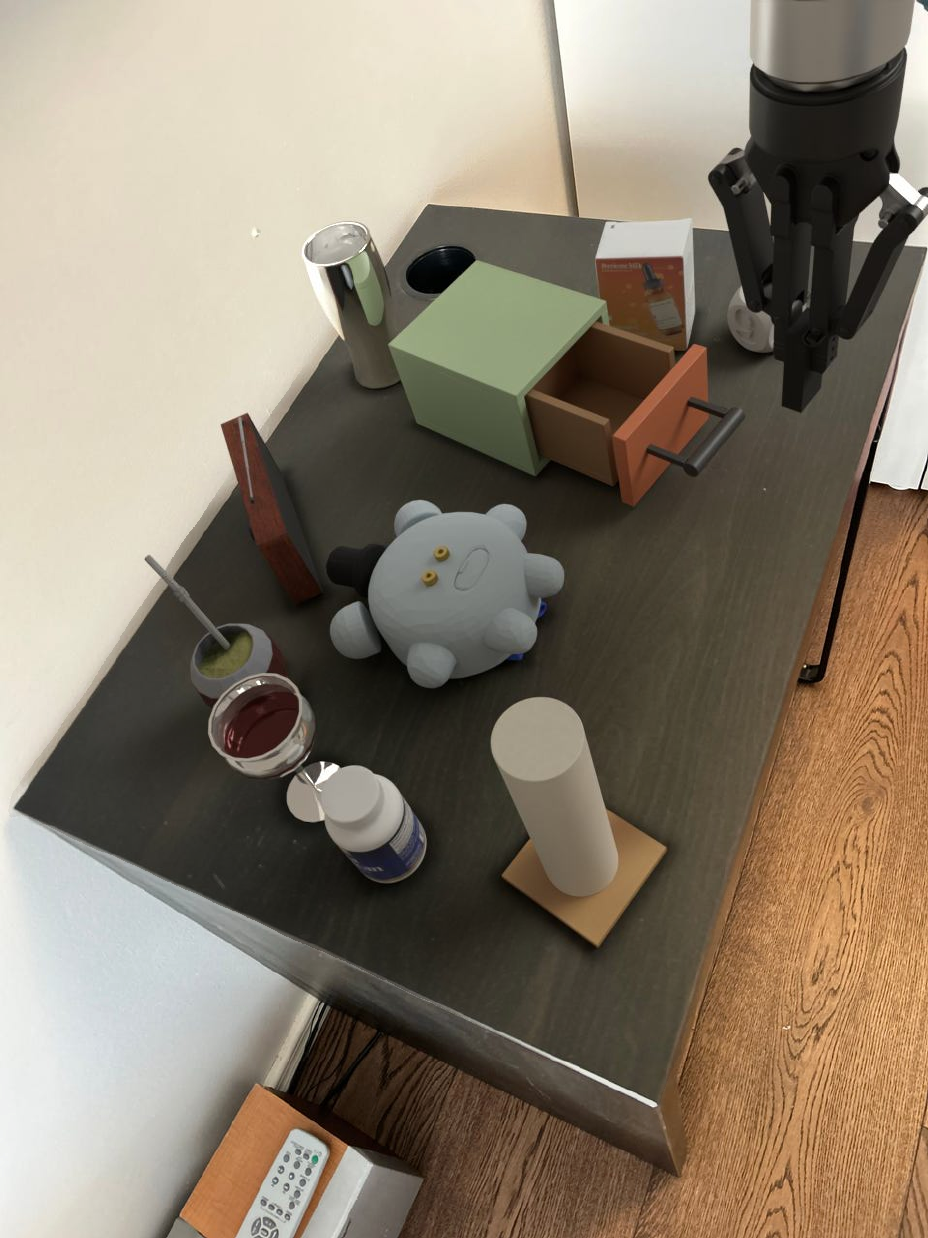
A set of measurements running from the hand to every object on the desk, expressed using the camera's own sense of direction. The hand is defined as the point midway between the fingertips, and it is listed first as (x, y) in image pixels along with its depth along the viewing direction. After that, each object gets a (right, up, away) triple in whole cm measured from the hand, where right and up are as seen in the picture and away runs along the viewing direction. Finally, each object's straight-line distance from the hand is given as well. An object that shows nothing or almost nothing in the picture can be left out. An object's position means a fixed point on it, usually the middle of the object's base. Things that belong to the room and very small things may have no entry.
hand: (801, 396), depth 68 cm
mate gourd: (-40, -22, +12) cm, 48 cm away
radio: (-40, -9, +22) cm, 46 cm away
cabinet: (-19, +5, +25) cm, 32 cm away
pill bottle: (-29, -32, +2) cm, 43 cm away
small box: (-5, +12, +27) cm, 30 cm away
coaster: (-15, -32, -2) cm, 36 cm away
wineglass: (-35, -29, +6) cm, 45 cm away
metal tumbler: (-32, +10, +33) cm, 47 cm away
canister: (-16, -32, -2) cm, 36 cm away
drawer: (-9, 0, +17) cm, 20 cm away
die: (+5, +11, +23) cm, 26 cm away
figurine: (-25, -15, +13) cm, 32 cm away
